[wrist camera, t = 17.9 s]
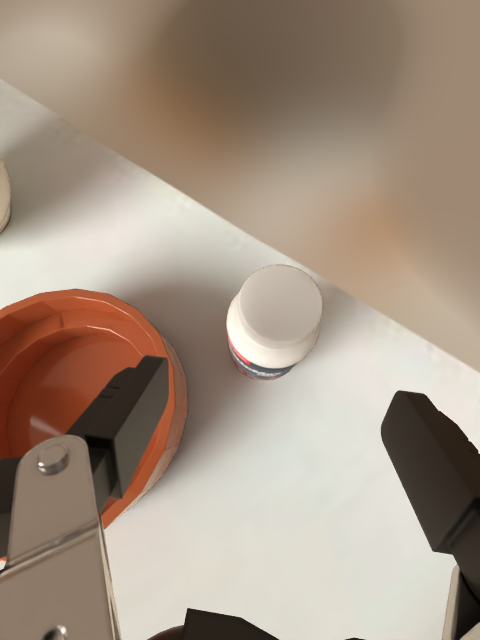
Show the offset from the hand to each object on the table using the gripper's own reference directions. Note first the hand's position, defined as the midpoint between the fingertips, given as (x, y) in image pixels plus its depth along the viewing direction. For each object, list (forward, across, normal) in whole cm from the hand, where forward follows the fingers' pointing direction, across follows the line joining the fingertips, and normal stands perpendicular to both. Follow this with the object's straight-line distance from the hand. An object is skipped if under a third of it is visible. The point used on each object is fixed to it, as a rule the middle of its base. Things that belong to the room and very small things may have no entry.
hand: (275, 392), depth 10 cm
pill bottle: (+11, 0, +4) cm, 12 cm away
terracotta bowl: (+6, +12, +9) cm, 16 cm away
